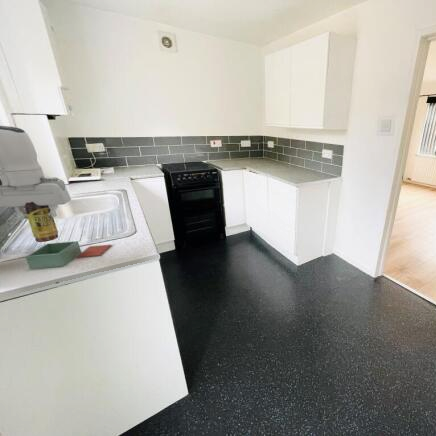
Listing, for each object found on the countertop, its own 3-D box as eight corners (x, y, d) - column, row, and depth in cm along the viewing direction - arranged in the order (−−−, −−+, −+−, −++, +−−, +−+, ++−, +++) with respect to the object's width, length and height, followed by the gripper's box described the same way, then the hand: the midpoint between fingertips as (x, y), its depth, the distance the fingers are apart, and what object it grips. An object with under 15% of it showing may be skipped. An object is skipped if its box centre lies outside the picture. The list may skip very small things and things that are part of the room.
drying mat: (76, 258, 93) (76, 256, 93) (90, 247, 101) (89, 246, 101) (100, 255, 94) (99, 254, 94) (111, 245, 103) (111, 244, 103)
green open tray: (30, 269, 86) (24, 256, 84) (52, 255, 95) (47, 243, 94) (63, 266, 87) (59, 253, 86) (81, 252, 97) (77, 241, 96)
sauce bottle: (43, 244, 85) (21, 188, 78) (31, 241, 86) (9, 186, 80) (64, 236, 90) (46, 184, 84) (53, 234, 92) (34, 182, 86)
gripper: (68, 175, 86) (79, 212, 90) (-2, 177, 82) (13, 216, 87) (55, 178, 80) (68, 218, 85) (-21, 181, 76) (-3, 222, 81)
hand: (40, 217), depth 86 cm, fingers closed on sauce bottle, 6 cm apart
